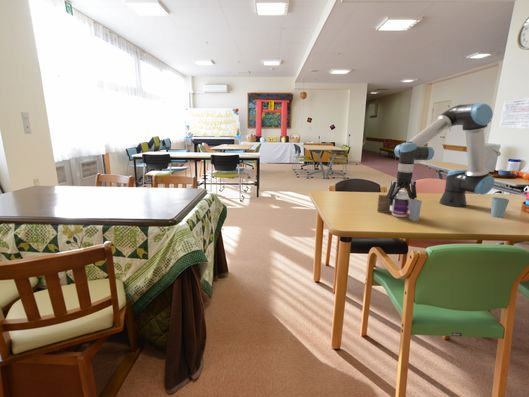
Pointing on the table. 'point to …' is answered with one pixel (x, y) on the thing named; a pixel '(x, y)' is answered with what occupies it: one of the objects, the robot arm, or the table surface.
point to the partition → (415, 209)
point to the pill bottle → (401, 204)
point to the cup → (498, 207)
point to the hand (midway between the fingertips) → (399, 210)
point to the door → (383, 204)
